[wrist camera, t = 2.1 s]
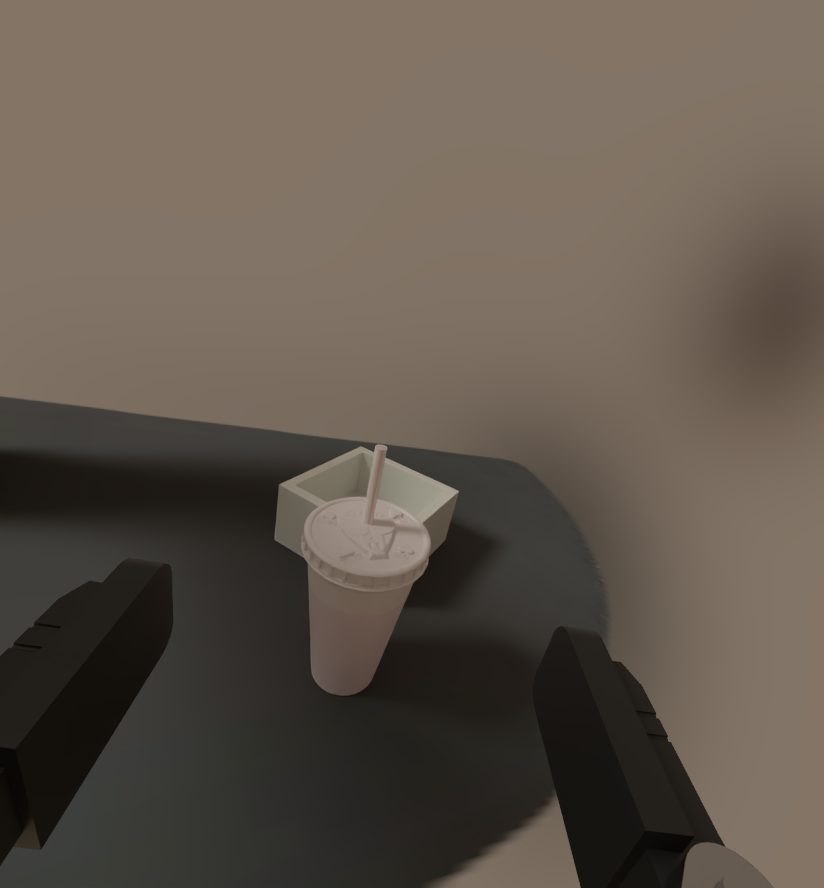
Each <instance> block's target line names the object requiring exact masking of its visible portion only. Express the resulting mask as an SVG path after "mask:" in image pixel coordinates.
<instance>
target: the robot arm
mask: <svg viewBox="0 0 824 888" xmlns="http://www.w3.org/2000/svg"><path fill="white" fill-rule="evenodd" d="M172 626H173V599H172V571H171V567H170V565H168V564H164V563H157V562H151V561H144V560H138V559H131V558H128V559H126V560H124V561H123V562H121V563H120V564H119V565H118V566H117V568H116V569H115V570H114V571H113V572H112V573H111V574H110V575H109V576H108V577H107V578H106V579H105V580H104V582H103V583H100V582H93V581H89V582H87V583H85V584H83V585H82V586H80V587H78V588H76V589H75V590H73V591H71V592H70V593H68V594H66V595H64V596H63V597H61V598H59V599H58V600H57V601H56V602H55V603H54V604H53V605H52V606H51V607H50V608H49V609H48V610H47V611H46V612H45V613H44V614H43V615H42V616H41V617H40V618H39V619H38V620H37V621H35V622H34V626H33V627H32V628H30V627H29V628H28V629H27V630H26V631H25V632H24V633H23V634H22V635H21V636H20V637H19V638H18V639H17V640H16V641H15V642H14V645H13V647H12V648H11V649H10V648H8V649H7V650H6V651H5V652H4V653H3V654H2V655H1V656H0V865H1V864H2V862H3V861H4V859H5V858H6V856H7V855H8V853H9V852H10V850H11V849H12V847H21V848H30V849H39V850H41V849H42V847H43V846H44V844H45V842H46V841H47V839H48V838H49V836H50V834H51V833H52V831H53V830H54V828H55V826H56V825H57V823H58V822H59V820H60V818H61V817H62V815H63V813H64V812H65V810H66V809H67V807H68V805H69V804H70V802H71V801H72V799H73V797H74V796H75V794H76V793H77V791H78V789H79V788H80V786H81V784H82V783H83V781H84V780H85V778H86V776H87V775H88V773H89V772H90V770H91V768H92V767H93V765H94V764H95V762H96V760H97V759H98V757H99V755H100V754H101V752H102V751H103V749H104V747H105V746H106V744H107V743H108V741H109V739H110V738H111V736H112V735H113V733H114V731H115V730H116V728H117V726H118V725H119V723H120V722H121V720H122V718H123V717H124V715H125V714H126V712H127V710H128V709H129V707H130V706H131V704H132V702H133V701H134V699H135V698H136V696H137V694H138V693H139V691H140V689H141V688H142V686H143V685H144V683H145V681H146V680H147V678H148V677H149V675H150V673H151V672H152V670H153V669H154V667H155V665H156V664H157V662H158V660H159V659H160V657H161V656H162V654H163V652H164V650H165V648H166V646H167V644H168V641H169V638H170V635H171V631H172ZM533 699H534V707H535V711H536V715H537V719H538V723H539V727H540V731H541V734H542V738H543V742H544V746H545V750H546V754H547V758H548V762H549V766H550V769H551V773H552V777H553V781H554V785H555V789H556V793H557V797H558V801H559V804H560V808H561V812H562V816H563V820H564V824H565V828H566V832H567V835H568V839H569V843H570V847H571V851H572V855H573V859H574V863H575V867H576V871H577V875H578V878H579V882H580V886H581V888H774V887H773V886H772V885H771V884H770V883H769V881H768V880H767V879H766V878H765V877H764V876H763V875H762V874H761V873H760V872H759V871H758V870H757V869H756V868H755V867H754V866H753V865H752V864H751V863H749V862H748V861H747V860H746V859H744V858H743V857H741V856H740V855H739V854H737V853H736V852H734V851H732V850H730V849H728V848H726V847H725V845H724V844H723V842H722V840H721V838H720V837H719V835H718V833H717V831H716V829H715V827H714V825H713V823H712V821H711V819H710V817H709V815H708V814H707V812H706V810H705V808H704V806H703V804H702V802H701V800H700V798H699V796H698V794H697V792H696V790H695V788H694V786H693V785H692V782H691V780H690V778H689V777H688V775H687V773H686V771H685V769H684V767H683V765H682V763H681V761H680V759H679V757H678V755H677V753H676V751H675V749H674V747H673V745H672V743H671V742H668V739H667V737H668V736H667V734H666V732H665V730H664V728H663V726H662V724H661V722H660V720H659V719H657V718H656V712H655V710H654V708H653V707H652V704H651V702H650V701H649V699H648V697H647V695H646V693H645V691H644V689H643V687H642V686H641V684H640V683H639V682H638V681H637V680H636V679H635V678H634V677H633V675H632V674H631V673H630V672H629V671H628V670H627V669H626V667H625V666H624V665H623V664H622V663H621V662H616V661H612V660H611V657H610V655H609V653H608V651H607V649H606V647H605V645H604V643H603V640H602V639H601V637H600V635H599V634H598V633H597V632H595V631H589V630H582V629H576V628H569V627H563V626H560V627H558V628H557V629H556V630H555V632H554V634H553V636H552V638H551V641H550V643H549V645H548V648H547V650H546V652H545V654H544V657H543V659H542V661H541V664H540V666H539V668H538V671H537V673H536V676H535V680H534V687H533Z"/></svg>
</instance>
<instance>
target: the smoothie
mask: <svg viewBox="0 0 824 888" xmlns="http://www.w3.org/2000/svg"><path fill="white" fill-rule="evenodd" d="M386 451H387V447H386V446H384V445H376V446H375V451H374V456H373V462H372V468H371V473H370V479H369V484H368V490H367V495H366V497H346V498H340V499H335V500H332V501H329V502H327V503H325V504H322V505H321V506H319V507H317V508H316V509H315V510H314V511H312V512H311V514H310V515H309V516H308V518H307V519H306V522H305V525H304V533H303V535H302V541H301V550H302V552H303V555H304V558H305V560H306V562H307V563H308V583H309V618H310V653H311V672H312V676H313V678H314V680H315V682H316V683H317V684H318V686H320V687H321V688H322V689H323V690H325V691H326V692H328V693H331V694H334V695H339V696H348V695H353V694H356V693H358V692H360V691H362V690H363V689H365V688H366V687H367V686H368V685H369V684H370V682H371V681H372V679H373V676H374V674H375V672H376V669H377V667H378V665H379V662H380V660H381V658H382V655H383V653H384V650H385V648H386V646H387V643H388V641H389V639H390V636H391V634H392V632H393V629H394V627H395V625H396V622H397V620H398V618H399V615H400V613H401V611H402V608H403V606H404V604H405V601H406V599H407V597H408V595H409V592H410V590H411V587H412V585H413V582H415V581H416V580H417V579H418V578H419V577H420V576H422V575H423V573H424V571H425V569H426V567H427V565H428V560H429V553H430V549H431V539H430V535H429V533H428V530H427V529H426V527H425V526H424V524H423V523H422V522H421V521H420V520H419V519H418V518H417V517H416V516H415V515H413V514H412V513H410V512H409V511H408V510H406V509H404V508H402V507H400V506H398V505H396V504H393V503H390V502H387V501H384V500H380V499H377V498H378V493H379V488H380V482H381V477H382V472H383V467H384V462H385V457H386Z"/></svg>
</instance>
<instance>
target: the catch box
mask: <svg viewBox="0 0 824 888" xmlns="http://www.w3.org/2000/svg"><path fill="white" fill-rule="evenodd" d="M373 456H374V452H372V451H370V450H368V449H365V448H363V447H359V448H357V449H354V450H352V451H350V452H348V453H346V454H344V455H342V456H339V457H337V458H335V459H333V460H331V461H329V462H326V463H324V464H322V465H320V466H318V467H316V468H314V469H311V470H309V471H307V472H305V473H303V474H301V475H299V476H296V477H294V478H292V479H290V480H288V481H286V482H283V483H281V484H279V491H278V502H277V514H276V525H275V537H274V540H275V541H277V542H279V543H280V544H282V545H284V546H285V547H287V548H288V549H290V550H292V551H293V552H295V553H297V554H298V555H300V556H301V557H303V558H304V555H303V552H302V550H301V541H302V535H303V533H304V525H305V522H306V519H307V518H308V516H309V515H310V514H311V512H312V511H314V510H315V509H316V508H317V507H319V506H321V505H322V504H325V503H327V502H329V501H332V500H335V499H340V498H346V497H366V495H367V490H368V484H369V479H370V473H371V468H372V462H373ZM458 493H459V491H457V490H455V489H453V488H451V487H448V486H446V485H444V484H442V483H440V482H438V481H435V480H433V479H431V478H429V477H427V476H424V475H422V474H420V473H418V472H416V471H413V470H411V469H409V468H407V467H405V466H403V465H400V464H398V463H396V462H394V461H392V460H389V459H387V458H385V462H384V467H383V472H382V477H381V482H380V488H379V493H378V498H377V499H380V500H384V501H387V502H390V503H393V504H396V505H398V506H400V507H402V508H404V509H406V510H408V511H409V512H410V513H412V514H413V515H415V516H416V517H417V518H418V519H419V520H420V521H421V522H422V523H423V524H424V526H425V527H426V529H427V530H428V533H429V535H430V539H431V549H430V553H429V556H430V555H431V554H432V553H433V552H434V551H435V550H436V549H437V548H438V547H439V546H440V545H441V544H442V543H443V542H444V541H445V540H446V536H447V532H448V529H449V525H450V522H451V518H452V514H453V511H454V507H455V504H456V500H457V497H458Z"/></svg>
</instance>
